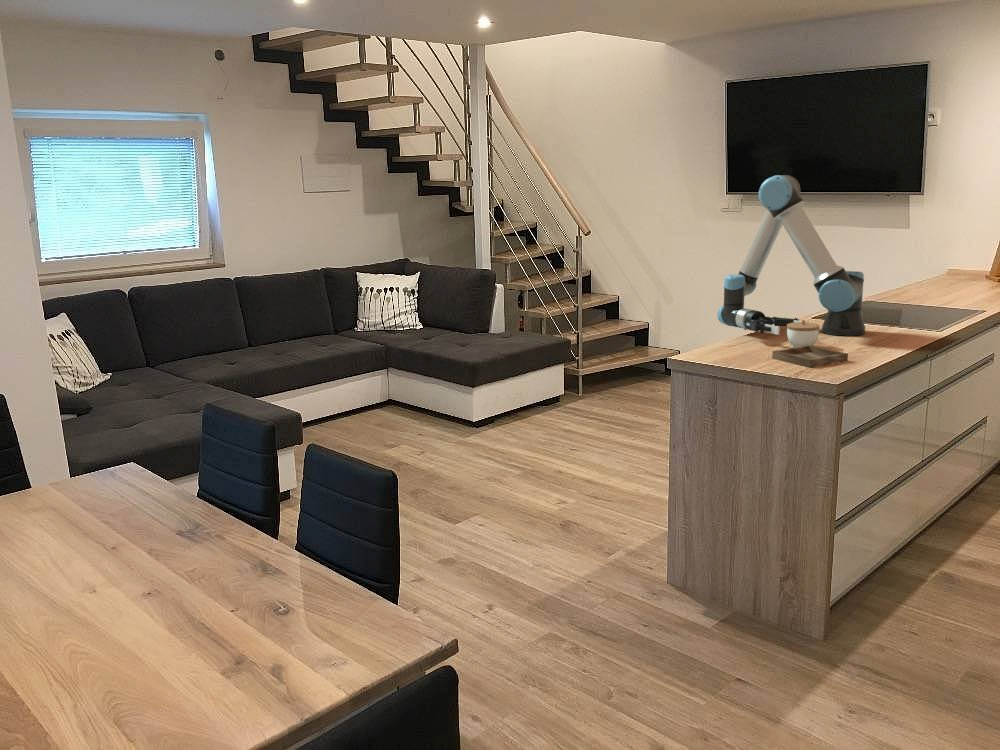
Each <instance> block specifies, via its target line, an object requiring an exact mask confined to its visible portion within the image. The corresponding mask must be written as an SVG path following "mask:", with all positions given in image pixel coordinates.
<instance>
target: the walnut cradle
mask: <svg viewBox="0 0 1000 750" xmlns="http://www.w3.org/2000/svg"><path fill="white" fill-rule="evenodd" d="M848 357H849V353H846V352H844V351H843V352H842V351H837V350H833V349H830V348H824V347H820V346H815V345H812V346H811V345H807V346H800V347H788V348H784V349H783V348H782V349H776V350H772V359H774V360H778V361H781V362H786V363H790V364H792V365H798V366H802V367H805V368H811V367H812V368H817V367H822V365H823V366H828V365H827V364H829V365H833V364H832V363H835V364H838V363H837V362H840V363H844V362H843V361H846V362H848V360H849V359H848ZM816 366H817V367H816Z"/></svg>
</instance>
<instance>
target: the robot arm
mask: <svg viewBox="0 0 1000 750" xmlns="http://www.w3.org/2000/svg"><path fill="white" fill-rule="evenodd" d="M758 200H759V201H760V204H761V206H763V207H764V208H765V209H766V211H765V213H764V215H763V217H762V219H761V222H760V224H759V226H758V229H757V230H756V233H755V235H754V238H753V240H752V242H751V244H750V247H749V249H748V251H747V253H746V256H745V258H744V260H743V263H742V265H741V267H740V270H739V271H738V273H737V274H728V275H726V276H724V283H723V290H724V291H723V305H721V306H720V307H719V308H718V311H717V313H716V314H717V315H716V316H717V320H718V321H719V323H721V324H722V325H726V326H729V327H734V328H740V329H743V330H744V331H747V330H748V331H753V332H756V333H758V332H759V334H761V335H763V334H764V333H768V334H772V335H776V336H777V335H778V336H779V335H780V328H781V327H786V328H787V324H789V323H795V322H802V320H800V319H799V318H797V317H794V318H789V317H778V316H772V317H770V316H766V315H765V314H764V313H763V312H762V311H761V310H760V311H759V310H755V309H750V308H745V296H748V295H750V294H752V293H753V292H755V289H756V288H757V281H758V279H759V276H760V274H761V272H762V271H763V270H762V269H763V268H764V266H765V263H766V261H767V259H768V257H769V254H770V253H771V250H772V248H773V246H774V244H775V242H776V239H777V237H778V235H779V233H780V231H781V229H782V227H784V229H785V231H786V232H787V234H788V236H789V238H790V239H791V241H792V243H793V244H794V246H795V247H796V249H797V250H798V252H799V255H800V256H801V258H802V259H803V261H804V263H805V264H806V266H807V268H808V269H809V271H810V274H812V276H813V278H814V279H813V283H812V285H813V286H814V287H815V290H816V292H817V293H818V300H819V303H820V304H821V306H822V307H823V308H825V309H826V310H827V313H826V315H825V317H824V321H823V323H822V324H821V332H822V334H823V333H824V334H827V335H832V336H840V335H842V337H844V336H845V337H846V336H847V337H848V336H849V337H853V336H862V335H864V334H866V325H865V323H864V322H865V321H864V318H863V313H862V307H863V293H864V281H865V277H864V276H865V275H864V272H862V271H856V270H855V271H854V270H853V271H852V270H851V271H849V270H846V269H845V268H844V266H840V265H837V263H836V262H835V260H834V259H833V257H832V255H831V253H830V251H829V250H828V248H827V247H826V245H825V243H824V241H823V239H822V238H821V236H820V235H819V234H818V232H817V230H816V229H815V227H814V225H813V223H812V222H811V220H810V218H809V217H808V215H807V213H806V211H805V210H804V208H803V206H804V199H803V198H802V196H801V186H800V183H799V181H798V180H797V179H796V178H795V177H793V176H791V175H789V174H782V175H779V174H777V175H772V176H771V177H768V178H767V179H765V180H764V181H763V182H762V183H761V185H760V187H759V189H758ZM843 335H844V336H843Z"/></svg>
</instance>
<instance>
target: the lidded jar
mask: <svg viewBox="0 0 1000 750" xmlns="http://www.w3.org/2000/svg"><path fill="white" fill-rule="evenodd" d="M801 321H802V322H795V323H789V324H787V327H786V336H787V340H788V342H789V344H791V346H792V348H794V347H800V346H807V345H811V346H815V344H816V343H817V340H818V338H819V334H820V327H821V326H820V325H819V324H818V323H814V322H807V321H806V320H805V319H802V320H801Z"/></svg>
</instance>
